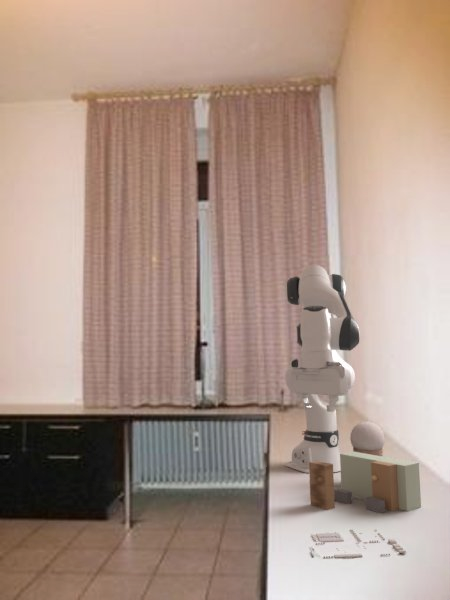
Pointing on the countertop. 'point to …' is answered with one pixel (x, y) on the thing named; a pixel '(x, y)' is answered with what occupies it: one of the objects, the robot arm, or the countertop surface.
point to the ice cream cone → (367, 439)
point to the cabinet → (379, 482)
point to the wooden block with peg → (321, 485)
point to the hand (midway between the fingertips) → (318, 410)
